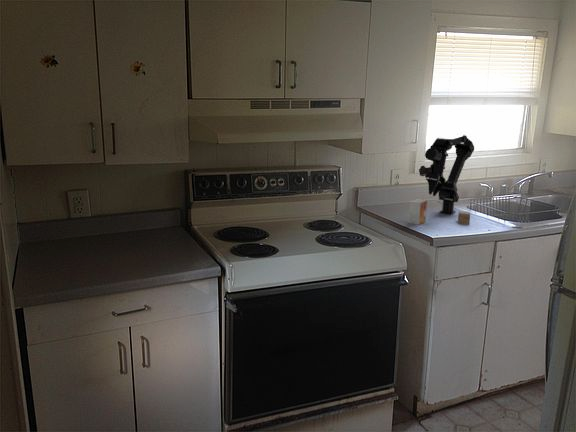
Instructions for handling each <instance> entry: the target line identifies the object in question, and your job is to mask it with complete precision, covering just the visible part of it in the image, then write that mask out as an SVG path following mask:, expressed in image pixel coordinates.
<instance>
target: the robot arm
mask: <svg viewBox="0 0 576 432" xmlns="http://www.w3.org/2000/svg"><path fill="white" fill-rule="evenodd" d="M453 146H454V148H455V155H456V158H455V160H454V161H453V164H452V167H451V170H450V173H449V175H448V178H447V180H446V178H445V177H444V170H445V169H446V166H445V165H446V161H447V157H449V154H448V151H450V150H451V149H452V148H453ZM474 151H475V145H474V142H473V141H472V140H470V139H469V138H468V136H467V135H465V134H459V133H457V134H455V135H451V136H449V137H437V138H436V139H435V140H434V142H433V144H432V145H430V148H428V149H427V150H426V151H425V153H424V157H425V159H426V160H428V161H432V163H431V164H430V166H429V167H428V166H427V167H426V166H425V165H421V166H420V168H419V169H418V172H419V176H421V177H424V178H425V180H426V181H427V183H428V185H427V186H428V194H429V195H432V196H433V197H436V195H438V200H440V201H442V206H441V207H442V208H441V209H440V210H439V213H444V214H449V215H453V214H455V213H456V210H454V209H455V203H458V202H459V200H460V196H459V193H458V187H457V184H458V181H459V178H460V175H461V173H462V170H463V169H464V165H465V162H466V161H467V160H469V158H471V156H472V155H473V153H474Z"/></svg>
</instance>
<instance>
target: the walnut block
mask: <svg viewBox="0 0 576 432" xmlns="http://www.w3.org/2000/svg"><path fill="white" fill-rule="evenodd" d="M457 215H458V216H457V222H458V223H457V224H461V225H470V222H471V221H470V220H471V212H470V211H466V210H465V211H464V210H459V211H458V213H457Z"/></svg>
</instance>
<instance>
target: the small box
mask: <svg viewBox="0 0 576 432" xmlns="http://www.w3.org/2000/svg"><path fill="white" fill-rule="evenodd" d="M427 205H428V200H425V199H424V200H423V199H418V198H416V199H414V200H411V201H409V205H408V206H409V207H408V209H409V210H408V221H407V223H408V224H411V225H418V226H419V225H421V224H423V223H426V219H427V218H426V217H427Z"/></svg>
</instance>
